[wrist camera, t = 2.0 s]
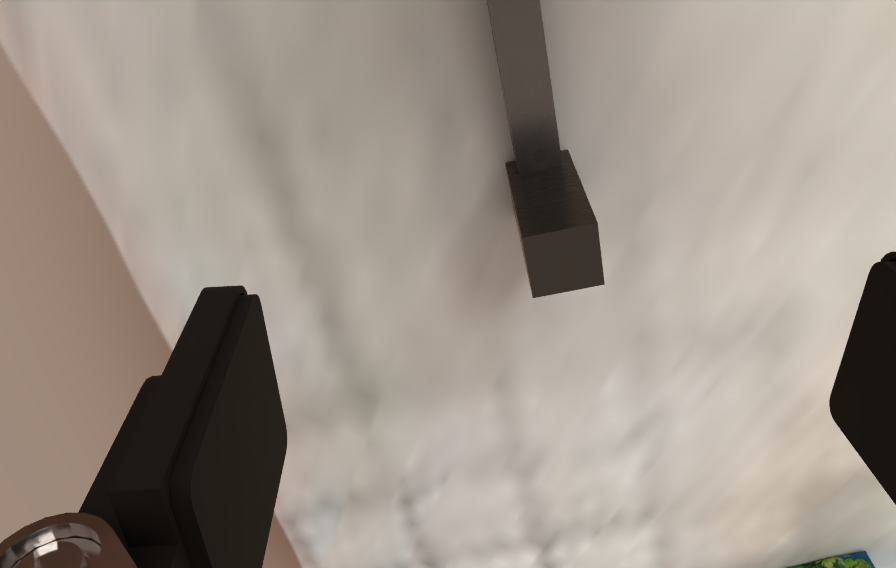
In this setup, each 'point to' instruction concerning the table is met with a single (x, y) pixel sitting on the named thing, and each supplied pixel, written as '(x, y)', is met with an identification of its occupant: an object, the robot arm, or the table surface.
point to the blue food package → (842, 562)
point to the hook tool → (542, 160)
